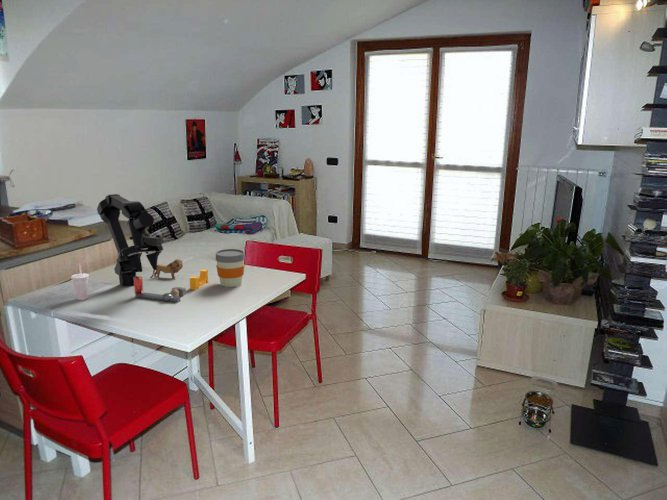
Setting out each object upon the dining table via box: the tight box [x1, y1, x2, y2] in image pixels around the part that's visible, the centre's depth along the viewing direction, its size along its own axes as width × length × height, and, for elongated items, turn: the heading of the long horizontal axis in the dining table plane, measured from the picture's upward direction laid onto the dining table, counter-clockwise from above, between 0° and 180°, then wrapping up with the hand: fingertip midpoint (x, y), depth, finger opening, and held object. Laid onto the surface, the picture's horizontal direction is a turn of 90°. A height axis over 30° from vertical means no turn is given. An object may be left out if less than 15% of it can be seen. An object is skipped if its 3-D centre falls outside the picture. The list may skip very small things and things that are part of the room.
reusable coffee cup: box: [215, 248, 246, 288], centre depth 218 cm, size 13×13×15 cm
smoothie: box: [70, 264, 90, 301], centre depth 199 cm, size 6×6×14 cm
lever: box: [133, 276, 181, 303], centre depth 198 cm, size 19×4×8 cm, turn 75°
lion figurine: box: [149, 258, 184, 280], centre depth 226 cm, size 15×5×9 cm, turn 103°
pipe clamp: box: [189, 269, 209, 291], centre depth 215 cm, size 12×4×6 cm, turn 169°
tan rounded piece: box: [169, 289, 179, 296], centre depth 201 cm, size 4×4×4 cm
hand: (148, 270), depth 198 cm, fingers open, 9 cm apart
